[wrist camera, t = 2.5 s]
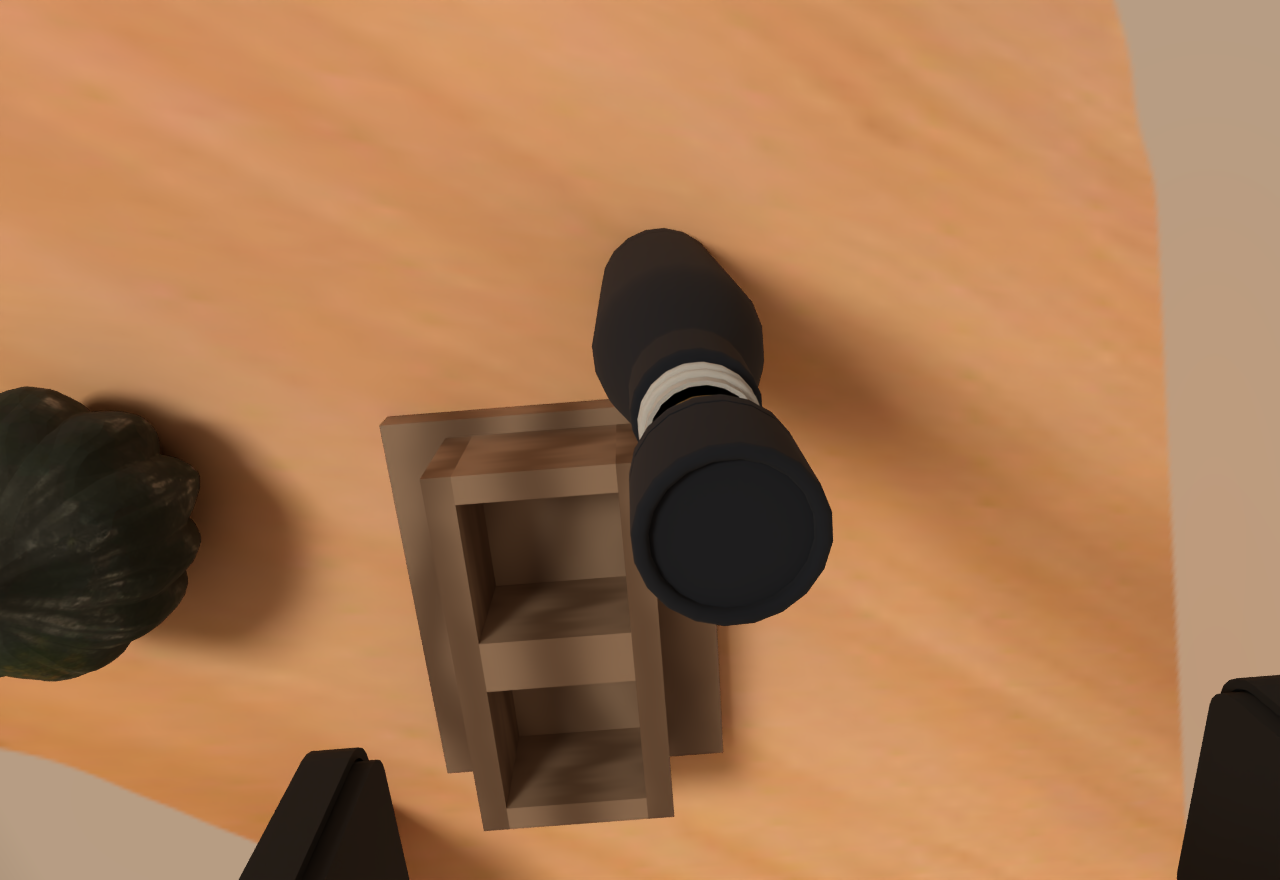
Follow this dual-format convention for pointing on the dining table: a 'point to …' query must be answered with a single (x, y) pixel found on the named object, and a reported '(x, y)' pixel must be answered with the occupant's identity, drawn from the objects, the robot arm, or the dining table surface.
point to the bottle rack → (546, 615)
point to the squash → (86, 534)
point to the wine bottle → (704, 438)
